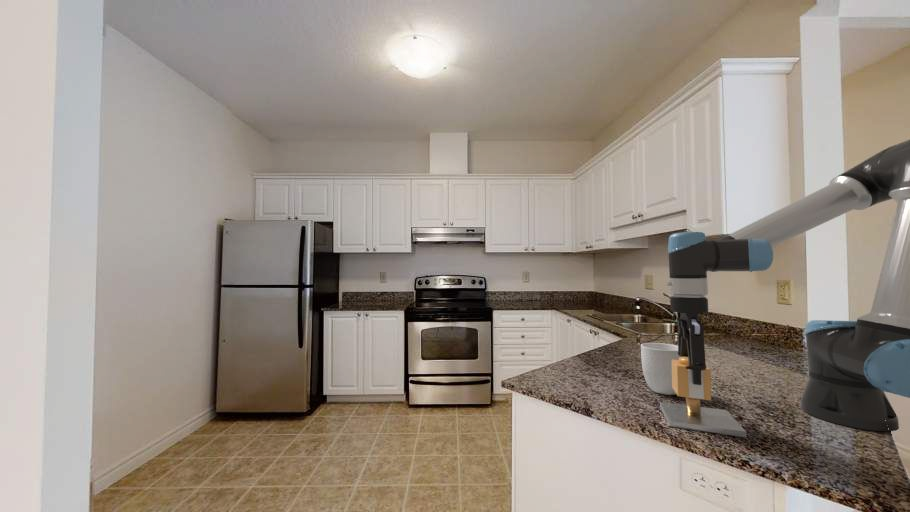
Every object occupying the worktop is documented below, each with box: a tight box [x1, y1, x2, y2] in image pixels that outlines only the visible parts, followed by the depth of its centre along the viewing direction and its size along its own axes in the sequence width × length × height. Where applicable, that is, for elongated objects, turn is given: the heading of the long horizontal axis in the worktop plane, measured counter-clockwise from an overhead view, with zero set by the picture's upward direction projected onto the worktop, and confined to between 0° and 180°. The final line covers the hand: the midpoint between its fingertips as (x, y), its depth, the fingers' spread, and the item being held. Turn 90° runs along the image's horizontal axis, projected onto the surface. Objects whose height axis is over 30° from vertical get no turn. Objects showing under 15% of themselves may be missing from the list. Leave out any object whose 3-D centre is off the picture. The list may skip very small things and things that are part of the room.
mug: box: [640, 342, 680, 396], centre depth 97 cm, size 15×11×13 cm
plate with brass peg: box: [659, 397, 748, 438], centre depth 79 cm, size 14×12×7 cm
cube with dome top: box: [672, 357, 712, 401], centre depth 80 cm, size 6×6×8 cm
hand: (692, 392), depth 79 cm, fingers closed on cube with dome top, 6 cm apart
